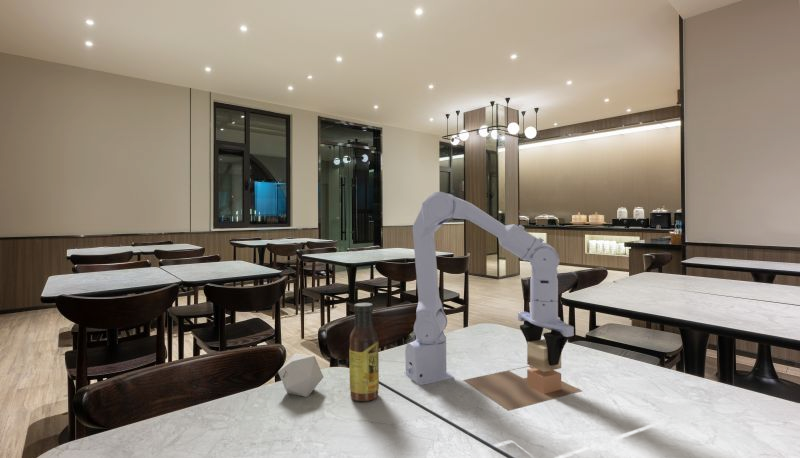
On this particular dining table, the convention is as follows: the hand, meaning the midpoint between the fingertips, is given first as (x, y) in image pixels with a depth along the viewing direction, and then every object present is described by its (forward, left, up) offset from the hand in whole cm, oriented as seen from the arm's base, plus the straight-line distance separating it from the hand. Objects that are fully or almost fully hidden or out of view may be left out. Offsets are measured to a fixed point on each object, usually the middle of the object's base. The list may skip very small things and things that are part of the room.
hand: (544, 360), depth 88 cm
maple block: (0, 0, -1) cm, 1 cm away
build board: (-4, +3, -6) cm, 8 cm away
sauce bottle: (-37, +14, -7) cm, 40 cm away
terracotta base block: (0, 0, -6) cm, 6 cm away
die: (-49, +22, -7) cm, 54 cm away
